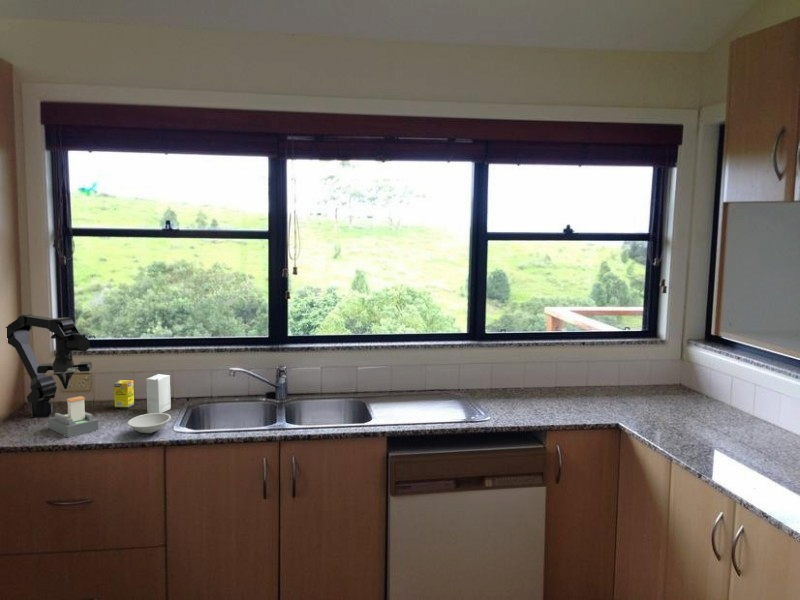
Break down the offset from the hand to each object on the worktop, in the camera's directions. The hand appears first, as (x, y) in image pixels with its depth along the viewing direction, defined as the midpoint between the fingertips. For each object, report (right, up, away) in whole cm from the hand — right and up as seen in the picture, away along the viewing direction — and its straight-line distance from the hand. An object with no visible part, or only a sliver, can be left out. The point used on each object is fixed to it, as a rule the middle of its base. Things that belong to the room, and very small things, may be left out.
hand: (66, 388), depth 252 cm
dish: (+39, -14, -15) cm, 44 cm away
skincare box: (+32, -11, +12) cm, 36 cm away
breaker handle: (+12, -10, -15) cm, 21 cm away
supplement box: (+15, -10, +18) cm, 26 cm away
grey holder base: (+9, -14, -12) cm, 20 cm away
